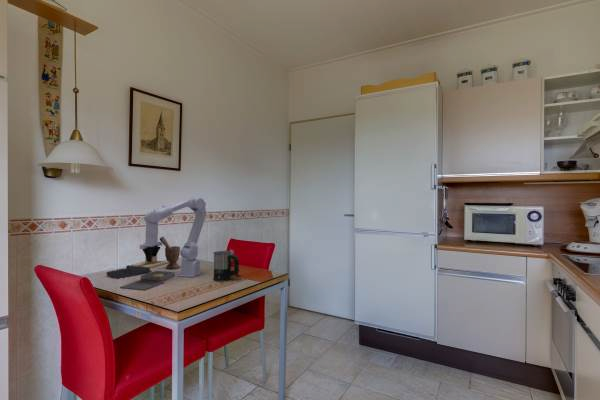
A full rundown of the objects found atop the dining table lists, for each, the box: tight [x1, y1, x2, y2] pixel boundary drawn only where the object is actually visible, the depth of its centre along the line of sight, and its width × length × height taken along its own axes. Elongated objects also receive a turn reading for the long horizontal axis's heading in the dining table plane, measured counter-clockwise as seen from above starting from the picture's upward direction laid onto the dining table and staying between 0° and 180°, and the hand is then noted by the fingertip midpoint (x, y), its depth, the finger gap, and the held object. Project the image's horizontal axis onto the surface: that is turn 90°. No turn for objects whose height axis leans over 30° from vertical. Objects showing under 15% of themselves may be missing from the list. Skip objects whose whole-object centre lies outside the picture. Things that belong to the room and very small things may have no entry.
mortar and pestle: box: [159, 236, 181, 270], centre depth 190 cm, size 12×9×20 cm
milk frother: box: [212, 250, 240, 282], centre depth 171 cm, size 14×16×15 cm
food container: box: [229, 248, 235, 267], centre depth 200 cm, size 12×6×10 cm, turn 148°
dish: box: [140, 270, 176, 282], centre depth 168 cm, size 12×12×2 cm
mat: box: [119, 279, 165, 291], centre depth 153 cm, size 14×14×1 cm
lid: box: [130, 256, 170, 269], centre depth 160 cm, size 13×13×4 cm
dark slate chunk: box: [106, 264, 153, 280], centre depth 176 cm, size 15×22×5 cm
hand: (151, 261), depth 160 cm, fingers closed on lid, 2 cm apart
